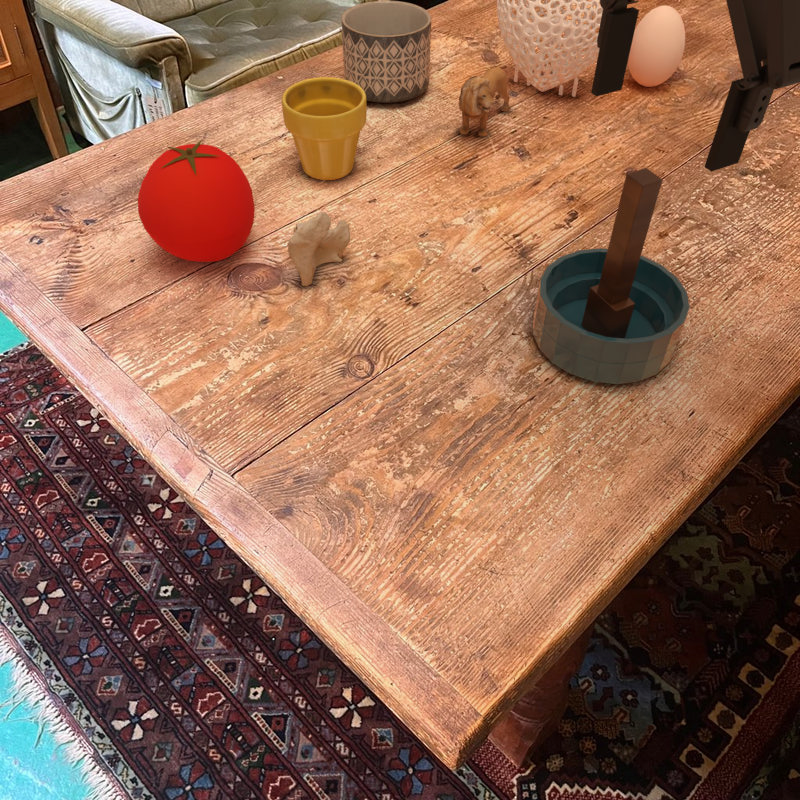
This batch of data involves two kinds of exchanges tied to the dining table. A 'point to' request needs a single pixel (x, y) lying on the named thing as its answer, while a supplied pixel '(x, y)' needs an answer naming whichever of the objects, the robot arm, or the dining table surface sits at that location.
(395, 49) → the planter
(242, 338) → the dining table surface
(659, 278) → the bowl
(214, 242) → the tomato
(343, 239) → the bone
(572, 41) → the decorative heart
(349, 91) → the flower pot
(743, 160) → the dining table surface
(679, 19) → the egg
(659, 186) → the stirring stick
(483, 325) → the dining table surface
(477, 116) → the lion figurine
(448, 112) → the dining table surface
